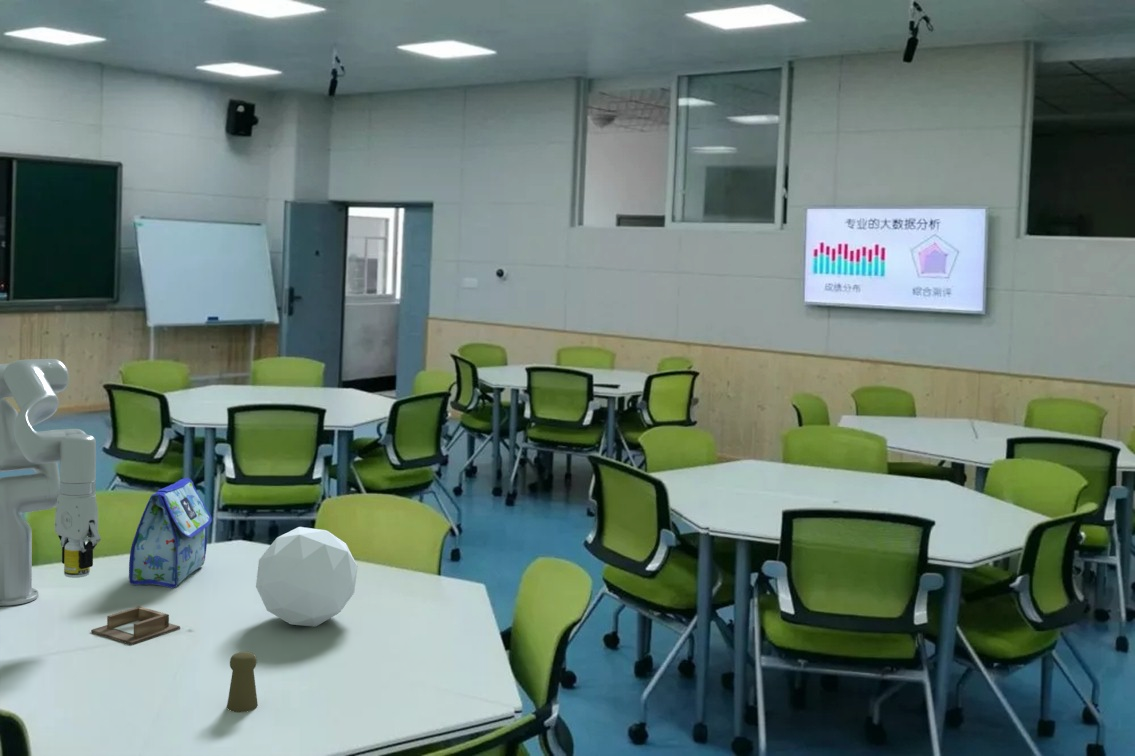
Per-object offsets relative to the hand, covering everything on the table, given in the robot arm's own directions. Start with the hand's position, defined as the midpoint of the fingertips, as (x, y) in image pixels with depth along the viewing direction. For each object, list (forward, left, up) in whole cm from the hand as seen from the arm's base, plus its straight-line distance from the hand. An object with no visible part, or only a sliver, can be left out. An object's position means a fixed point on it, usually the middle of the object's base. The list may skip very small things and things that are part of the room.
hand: (77, 564), depth 254 cm
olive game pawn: (+59, -6, -18) cm, 62 cm away
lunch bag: (-21, +46, -18) cm, 54 cm away
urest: (+7, +11, -17) cm, 22 cm away
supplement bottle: (0, 0, -3) cm, 3 cm away
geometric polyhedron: (+34, +40, -18) cm, 55 cm away
